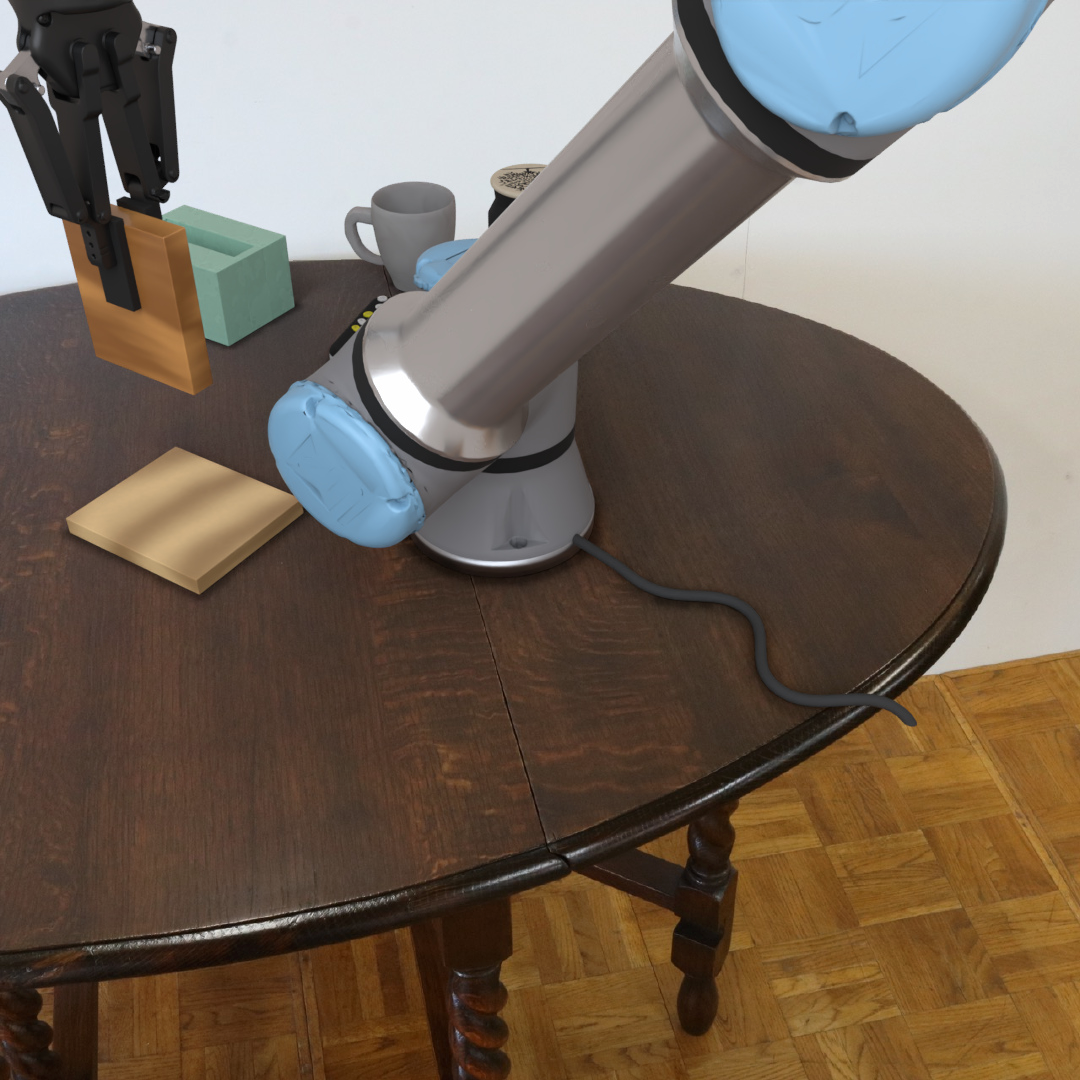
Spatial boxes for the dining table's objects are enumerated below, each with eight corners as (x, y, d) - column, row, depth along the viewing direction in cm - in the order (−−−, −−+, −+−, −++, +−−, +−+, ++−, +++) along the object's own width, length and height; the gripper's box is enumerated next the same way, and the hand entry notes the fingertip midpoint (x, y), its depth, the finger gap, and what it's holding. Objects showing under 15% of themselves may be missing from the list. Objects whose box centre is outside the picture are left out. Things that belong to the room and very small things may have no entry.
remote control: (325, 367, 115) (323, 349, 114) (377, 308, 125) (375, 291, 123) (384, 377, 114) (382, 359, 113) (432, 317, 123) (431, 300, 122)
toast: (116, 345, 90) (80, 193, 82) (214, 383, 86) (185, 227, 78) (95, 357, 88) (57, 202, 81) (194, 396, 84) (163, 237, 77)
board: (303, 513, 97) (301, 498, 96) (199, 595, 89) (196, 580, 88) (178, 460, 103) (175, 445, 102) (69, 533, 95) (65, 518, 94)
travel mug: (570, 375, 115) (577, 197, 103) (488, 374, 115) (485, 195, 103) (569, 335, 121) (575, 162, 110) (491, 334, 121) (489, 161, 110)
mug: (464, 266, 133) (461, 183, 127) (450, 303, 126) (447, 217, 120) (359, 259, 134) (351, 176, 128) (339, 295, 127) (331, 210, 121)
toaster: (186, 270, 131) (173, 201, 126) (294, 306, 125) (285, 235, 120) (117, 306, 124) (100, 234, 119) (228, 346, 118) (216, 272, 113)
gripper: (111, -102, 75) (176, 245, 90) (-98, -57, 65) (15, 326, 80) (199, -87, 72) (252, 270, 87) (-6, -37, 62) (93, 357, 77)
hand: (138, 296), depth 83 cm, fingers closed on toast, 2 cm apart
